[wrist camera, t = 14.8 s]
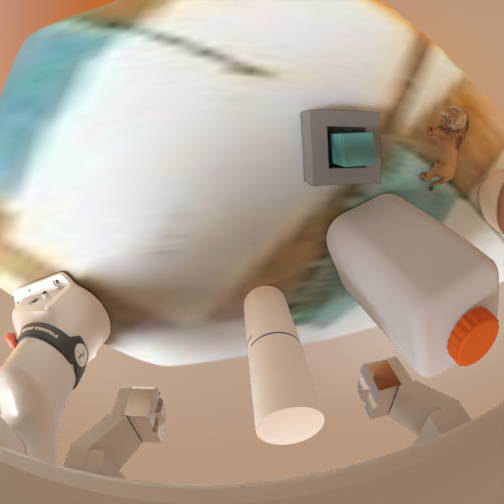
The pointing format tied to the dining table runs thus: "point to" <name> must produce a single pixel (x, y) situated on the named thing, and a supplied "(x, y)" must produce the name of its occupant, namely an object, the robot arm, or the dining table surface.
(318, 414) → the cylindrical container
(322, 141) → the bore block
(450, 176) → the lion figurine
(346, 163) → the teal pin
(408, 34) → the dining table surface
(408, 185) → the dining table surface
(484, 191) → the lidded bowl
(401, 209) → the plastic bottle
